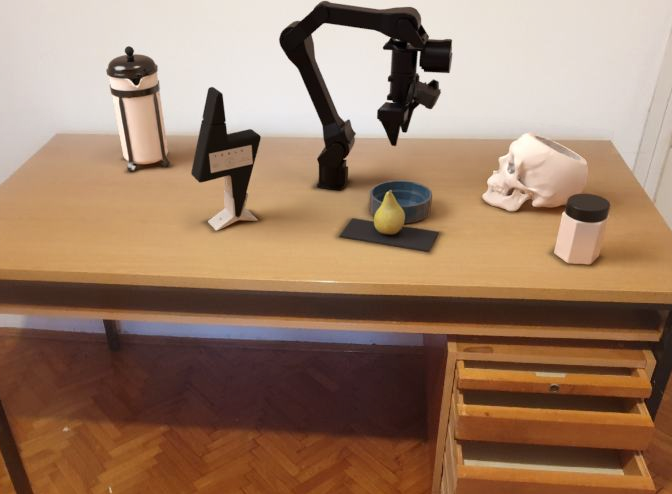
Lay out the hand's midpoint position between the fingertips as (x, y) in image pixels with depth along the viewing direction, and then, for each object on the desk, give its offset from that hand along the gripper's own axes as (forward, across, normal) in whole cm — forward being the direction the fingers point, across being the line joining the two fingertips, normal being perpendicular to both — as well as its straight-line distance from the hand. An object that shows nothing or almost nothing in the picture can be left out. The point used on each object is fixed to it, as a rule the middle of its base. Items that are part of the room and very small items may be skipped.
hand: (399, 138), depth 166 cm
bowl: (+13, -11, -4) cm, 17 cm away
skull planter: (+13, +3, -32) cm, 35 cm away
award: (+13, -29, +31) cm, 44 cm away
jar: (+13, -18, -44) cm, 50 cm away
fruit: (+13, -24, -5) cm, 27 cm away
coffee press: (+13, -4, +70) cm, 71 cm away
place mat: (+13, -23, -5) cm, 27 cm away
